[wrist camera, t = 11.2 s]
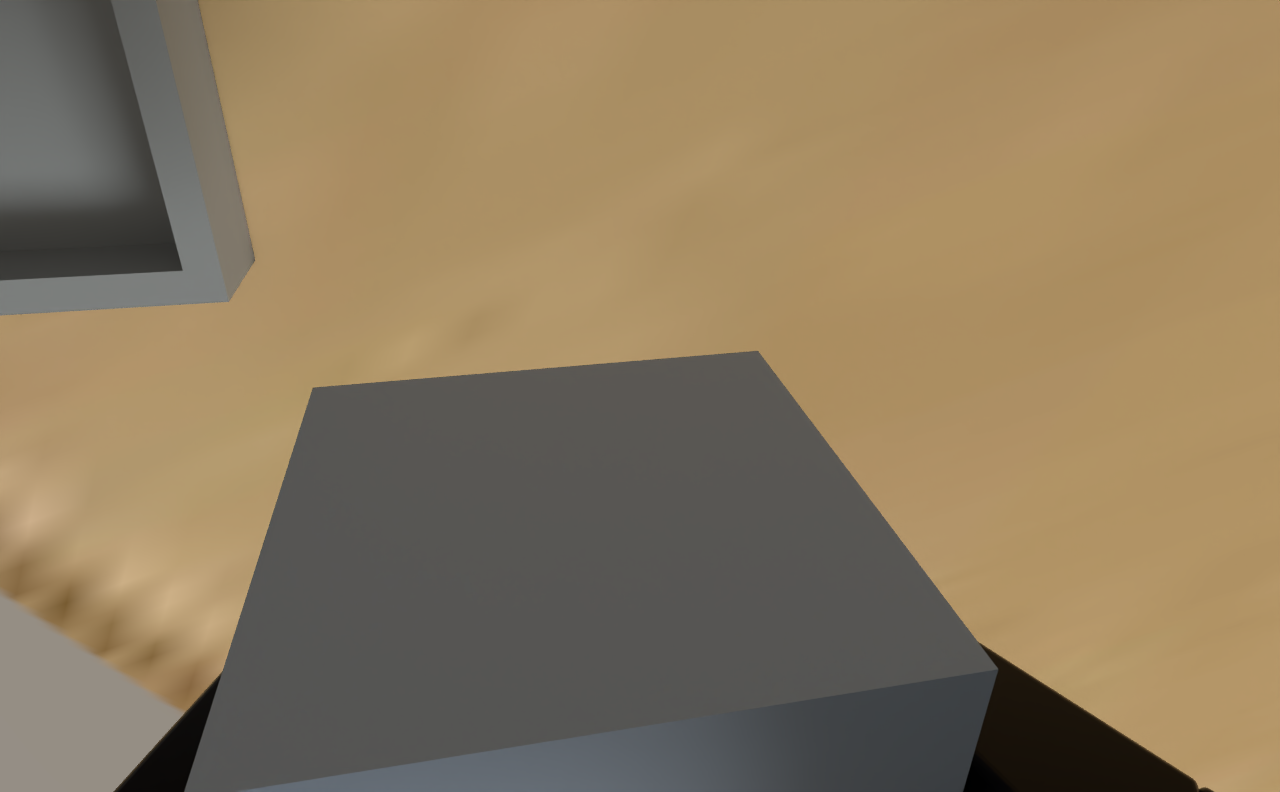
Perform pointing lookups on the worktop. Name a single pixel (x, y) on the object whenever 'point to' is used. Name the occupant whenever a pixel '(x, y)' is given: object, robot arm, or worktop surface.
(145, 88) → the tray
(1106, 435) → the worktop surface
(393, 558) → the slate block
